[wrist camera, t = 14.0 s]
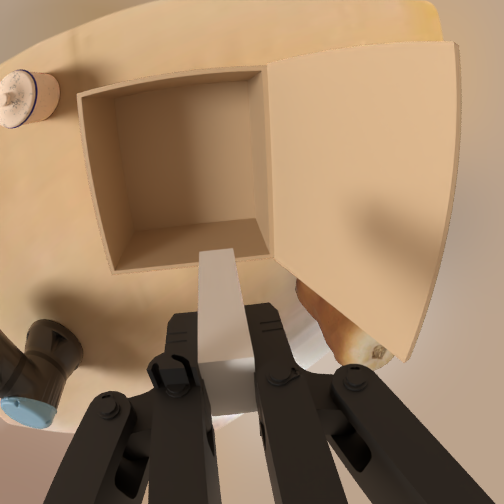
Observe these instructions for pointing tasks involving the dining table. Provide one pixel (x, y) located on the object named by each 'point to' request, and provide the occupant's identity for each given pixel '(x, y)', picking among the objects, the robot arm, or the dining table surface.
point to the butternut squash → (343, 332)
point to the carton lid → (367, 177)
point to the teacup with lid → (27, 98)
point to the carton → (180, 167)
